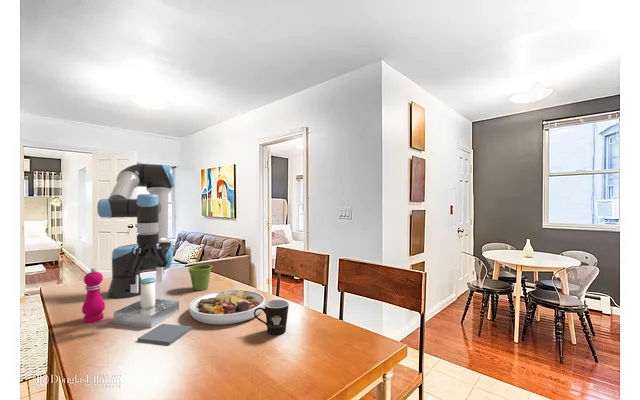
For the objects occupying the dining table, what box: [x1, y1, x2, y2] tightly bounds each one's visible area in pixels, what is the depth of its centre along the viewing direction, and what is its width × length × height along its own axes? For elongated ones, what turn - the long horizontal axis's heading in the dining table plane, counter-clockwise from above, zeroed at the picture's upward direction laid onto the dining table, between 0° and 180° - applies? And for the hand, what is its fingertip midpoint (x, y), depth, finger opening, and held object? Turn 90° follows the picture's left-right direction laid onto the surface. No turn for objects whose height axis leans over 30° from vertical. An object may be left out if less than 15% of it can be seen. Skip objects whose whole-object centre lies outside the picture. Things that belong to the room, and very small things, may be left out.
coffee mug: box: [254, 299, 290, 336], centre depth 113 cm, size 12×9×10 cm
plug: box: [140, 277, 156, 309], centre depth 124 cm, size 5×5×15 cm
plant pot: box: [187, 264, 213, 292], centre depth 161 cm, size 12×12×11 cm
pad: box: [137, 323, 193, 346], centre depth 109 cm, size 12×12×1 cm
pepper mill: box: [81, 267, 106, 324], centre depth 121 cm, size 7×7×20 cm
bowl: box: [188, 289, 266, 326], centre depth 130 cm, size 30×30×8 cm
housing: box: [113, 298, 180, 329], centre depth 124 cm, size 16×16×4 cm
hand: (147, 287), depth 123 cm, fingers open, 13 cm apart
